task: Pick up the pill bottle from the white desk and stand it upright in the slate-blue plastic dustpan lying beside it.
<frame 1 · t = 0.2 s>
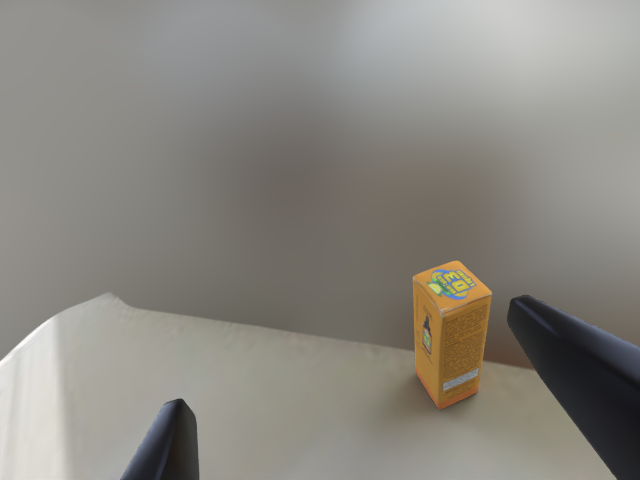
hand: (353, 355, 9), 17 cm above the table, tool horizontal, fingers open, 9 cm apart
supplement box: (447, 382, 25), on the table
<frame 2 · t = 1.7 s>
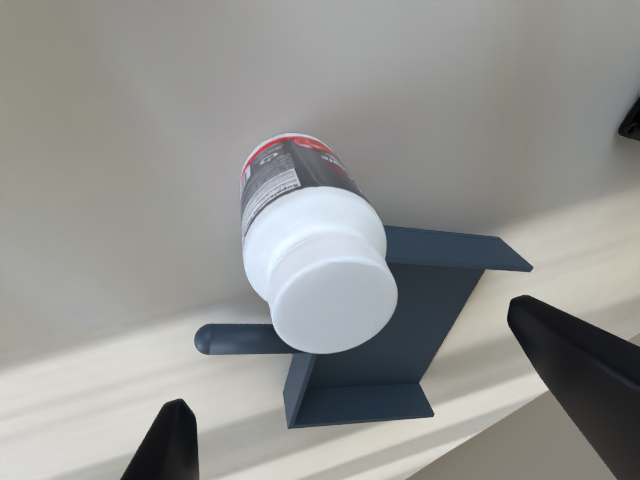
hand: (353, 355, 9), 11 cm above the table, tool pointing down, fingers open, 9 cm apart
dustpan: (384, 318, 26), on the table
pill bottle: (290, 179, 19), on the table
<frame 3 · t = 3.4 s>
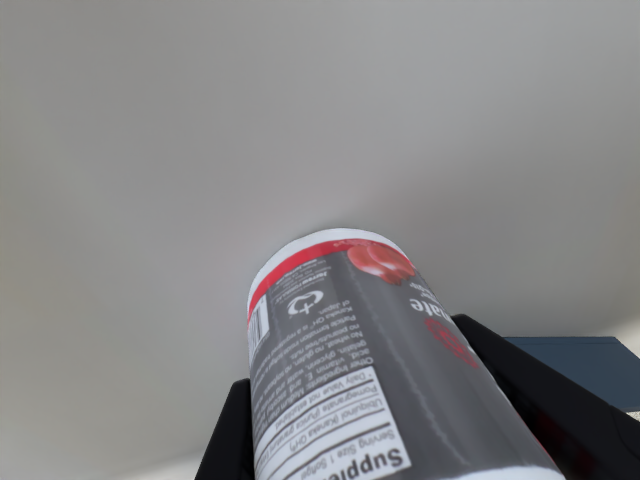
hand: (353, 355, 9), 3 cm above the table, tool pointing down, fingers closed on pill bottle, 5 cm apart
dustpan: (442, 437, 19), on the table
pill bottle: (329, 288, 11), on the table, touching gripper
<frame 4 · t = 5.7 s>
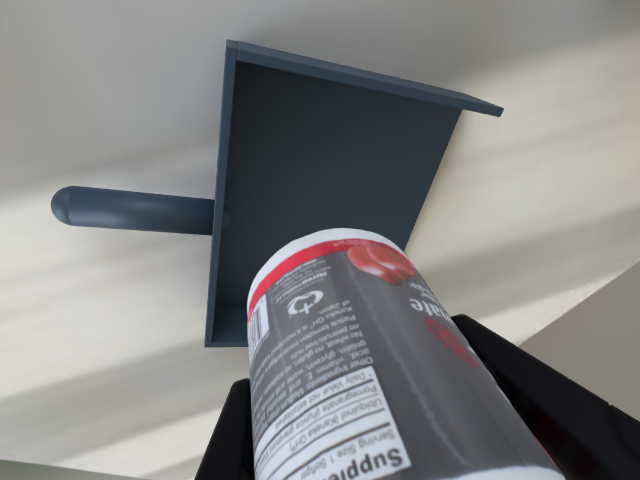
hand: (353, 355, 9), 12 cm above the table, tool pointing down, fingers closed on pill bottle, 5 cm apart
dustpan: (325, 211, 21), on the table
pill bottle: (328, 288, 11), point 10 cm above the table, touching gripper
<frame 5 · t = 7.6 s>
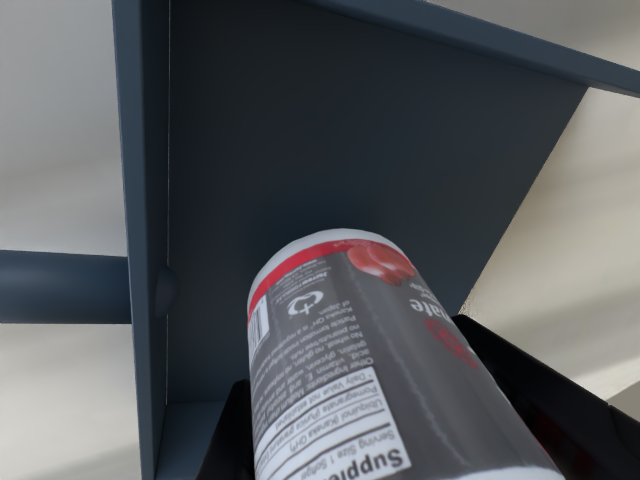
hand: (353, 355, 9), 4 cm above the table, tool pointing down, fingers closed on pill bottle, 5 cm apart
dustpan: (342, 262, 13), on the table
pill bottle: (329, 288, 11), point 2 cm above the table, touching gripper
when the fingers open (3 cm above the table, at t = 8.5 s): pill bottle stays where it is, resting on dustpan.
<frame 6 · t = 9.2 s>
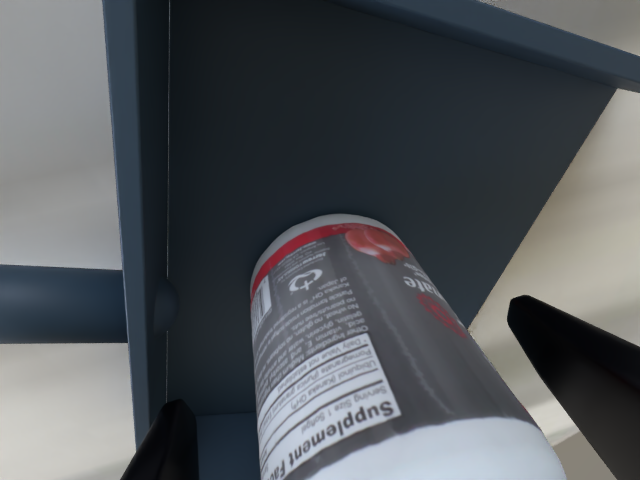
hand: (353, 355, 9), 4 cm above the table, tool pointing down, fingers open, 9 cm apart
dustpan: (351, 273, 12), on the table
pill bottle: (328, 273, 12), resting on dustpan
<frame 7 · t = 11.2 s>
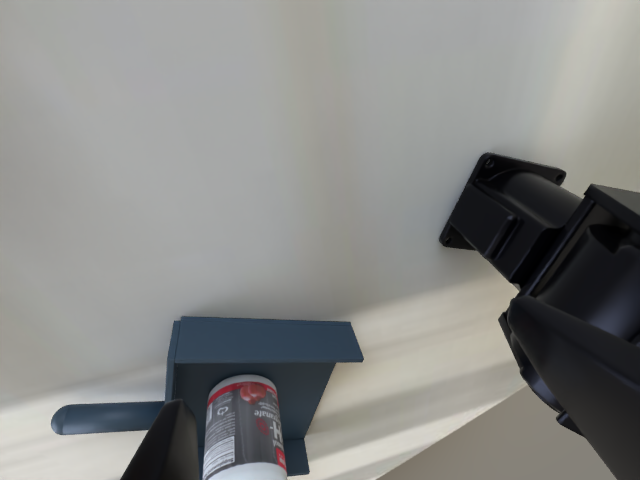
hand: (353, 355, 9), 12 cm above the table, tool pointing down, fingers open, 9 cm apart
dustpan: (254, 388, 29), on the table
pill bottle: (242, 390, 28), resting on dustpan
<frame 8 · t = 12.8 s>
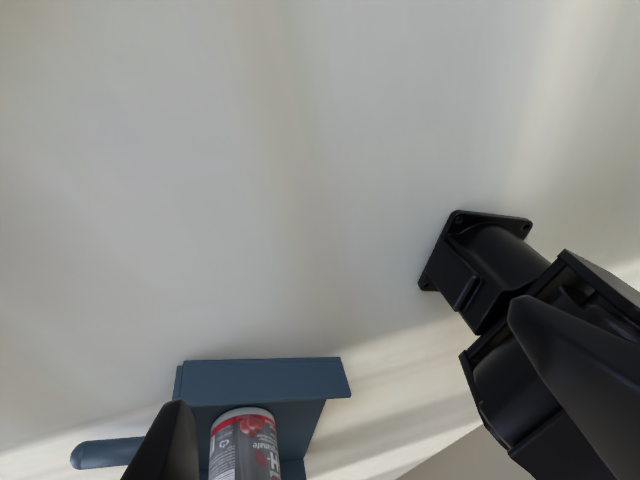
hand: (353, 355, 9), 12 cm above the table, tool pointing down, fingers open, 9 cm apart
dustpan: (253, 417, 31), on the table
pill bottle: (243, 420, 30), resting on dustpan
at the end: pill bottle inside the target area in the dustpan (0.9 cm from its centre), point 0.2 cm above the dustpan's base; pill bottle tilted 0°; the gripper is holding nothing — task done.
